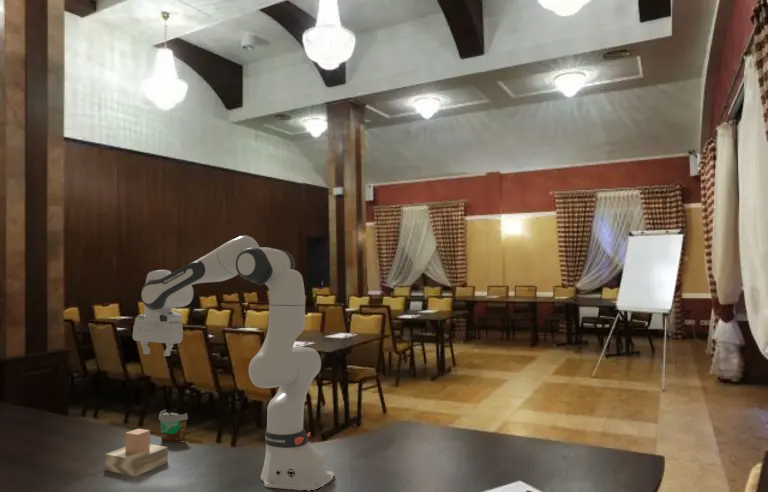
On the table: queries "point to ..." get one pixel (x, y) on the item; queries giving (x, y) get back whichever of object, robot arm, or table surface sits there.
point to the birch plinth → (136, 460)
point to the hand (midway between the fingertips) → (156, 354)
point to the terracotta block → (137, 441)
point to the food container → (172, 426)
